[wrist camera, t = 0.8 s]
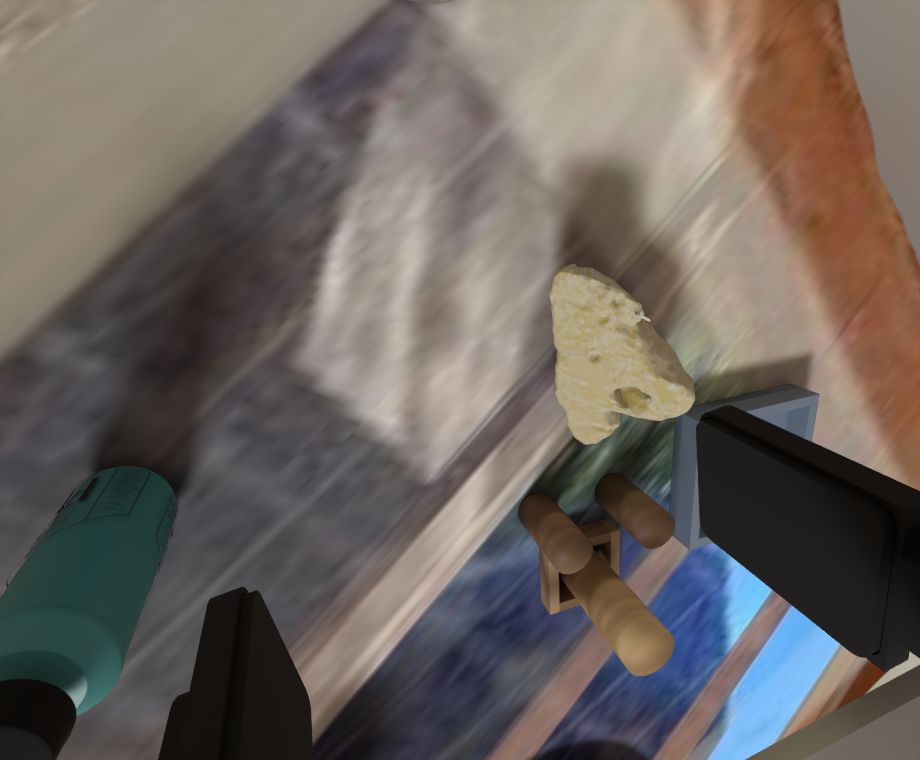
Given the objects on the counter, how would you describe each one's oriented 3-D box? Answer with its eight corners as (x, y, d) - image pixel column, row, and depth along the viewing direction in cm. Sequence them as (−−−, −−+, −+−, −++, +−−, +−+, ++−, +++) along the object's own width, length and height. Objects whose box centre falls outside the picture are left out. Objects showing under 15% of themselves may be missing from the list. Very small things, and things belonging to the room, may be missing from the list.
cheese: (631, 407, 50) (753, 308, 39) (626, 469, 46) (762, 376, 34) (493, 337, 49) (578, 211, 38) (473, 393, 44) (562, 269, 33)
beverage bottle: (112, 436, 35) (-76, 677, 17) (204, 479, 38) (127, 725, 20) (60, 510, 36) (-177, 822, 18) (155, 547, 38) (35, 850, 20)
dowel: (554, 546, 50) (627, 640, 39) (594, 535, 51) (675, 623, 40) (555, 583, 52) (625, 682, 41) (593, 571, 53) (672, 665, 42)
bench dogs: (517, 497, 47) (552, 542, 41) (627, 469, 50) (676, 507, 44) (518, 530, 48) (553, 579, 42) (626, 501, 51) (674, 542, 45)
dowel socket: (538, 537, 49) (548, 550, 47) (608, 518, 51) (620, 529, 49) (541, 600, 52) (550, 614, 50) (607, 579, 54) (618, 592, 52)
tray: (675, 409, 50) (699, 422, 47) (790, 383, 53) (819, 394, 50) (668, 531, 54) (689, 550, 51) (773, 500, 58) (799, 515, 55)
